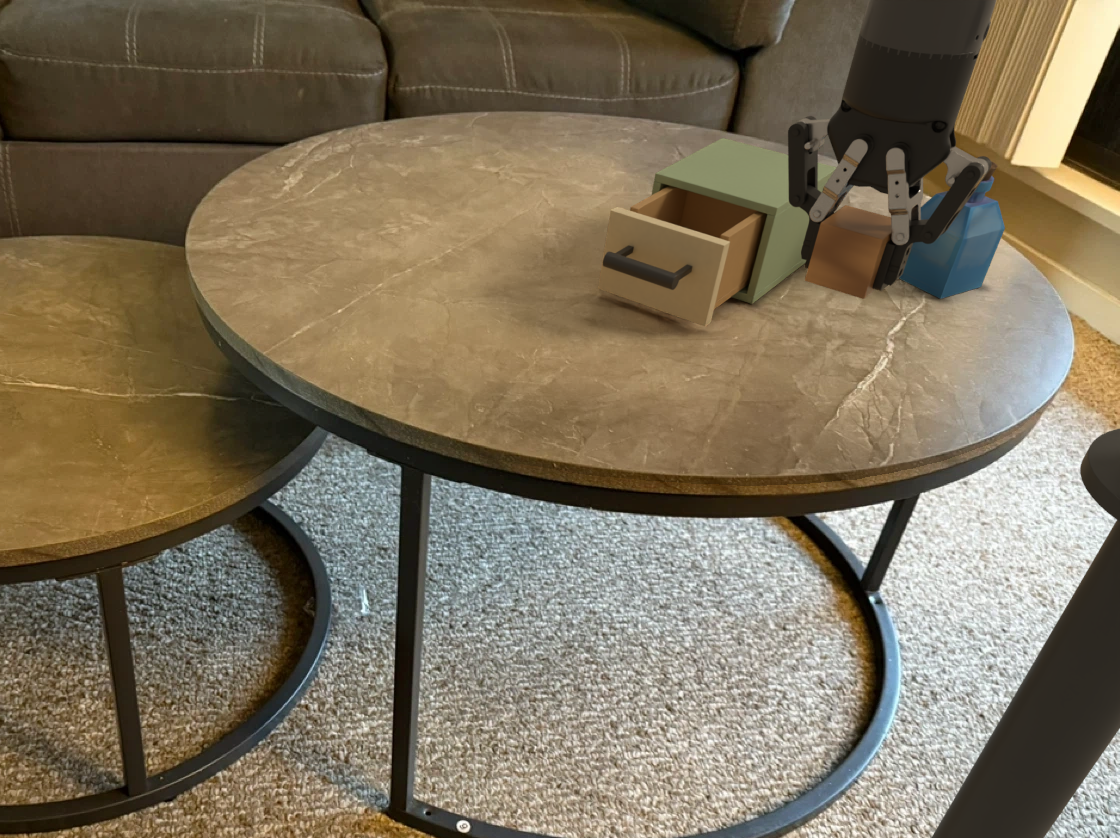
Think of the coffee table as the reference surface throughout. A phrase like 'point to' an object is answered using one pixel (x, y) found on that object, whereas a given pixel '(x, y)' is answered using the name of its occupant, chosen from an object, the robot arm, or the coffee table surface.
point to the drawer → (681, 252)
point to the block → (849, 251)
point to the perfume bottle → (958, 246)
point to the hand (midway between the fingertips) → (847, 275)
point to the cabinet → (750, 202)
